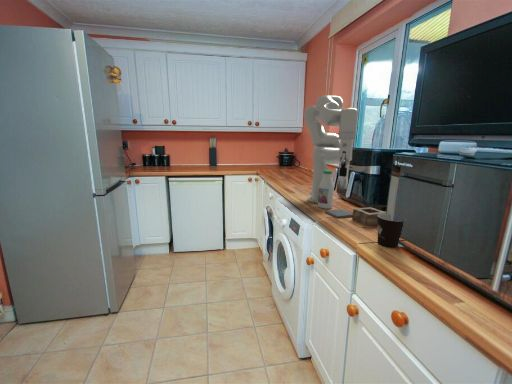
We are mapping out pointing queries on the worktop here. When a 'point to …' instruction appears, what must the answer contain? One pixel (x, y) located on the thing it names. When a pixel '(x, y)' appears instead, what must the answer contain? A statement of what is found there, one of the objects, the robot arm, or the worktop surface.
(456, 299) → the worktop surface
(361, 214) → the open square box
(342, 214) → the rubber mat
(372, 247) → the worktop surface
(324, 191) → the milk bottle
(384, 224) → the coffee mug
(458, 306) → the worktop surface
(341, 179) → the steel pin
